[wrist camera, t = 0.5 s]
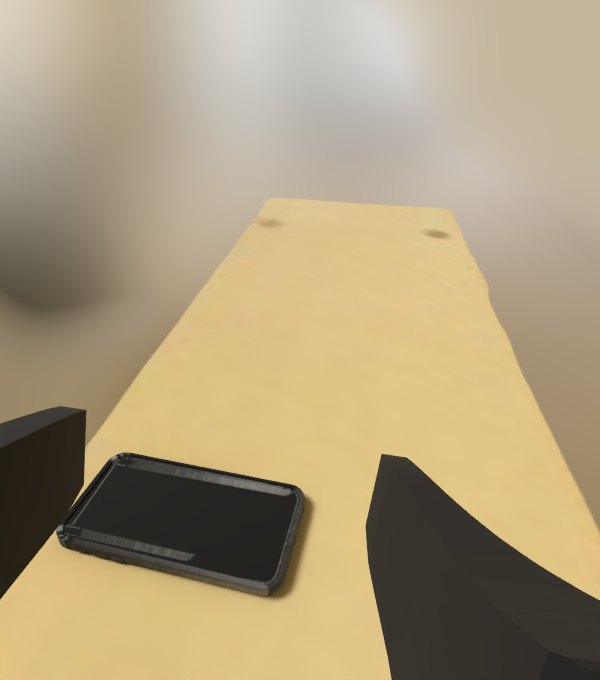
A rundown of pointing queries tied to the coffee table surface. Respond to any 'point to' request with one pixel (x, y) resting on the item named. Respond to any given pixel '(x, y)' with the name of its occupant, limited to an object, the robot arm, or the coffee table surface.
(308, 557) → the coffee table surface
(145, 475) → the phone
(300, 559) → the coffee table surface
